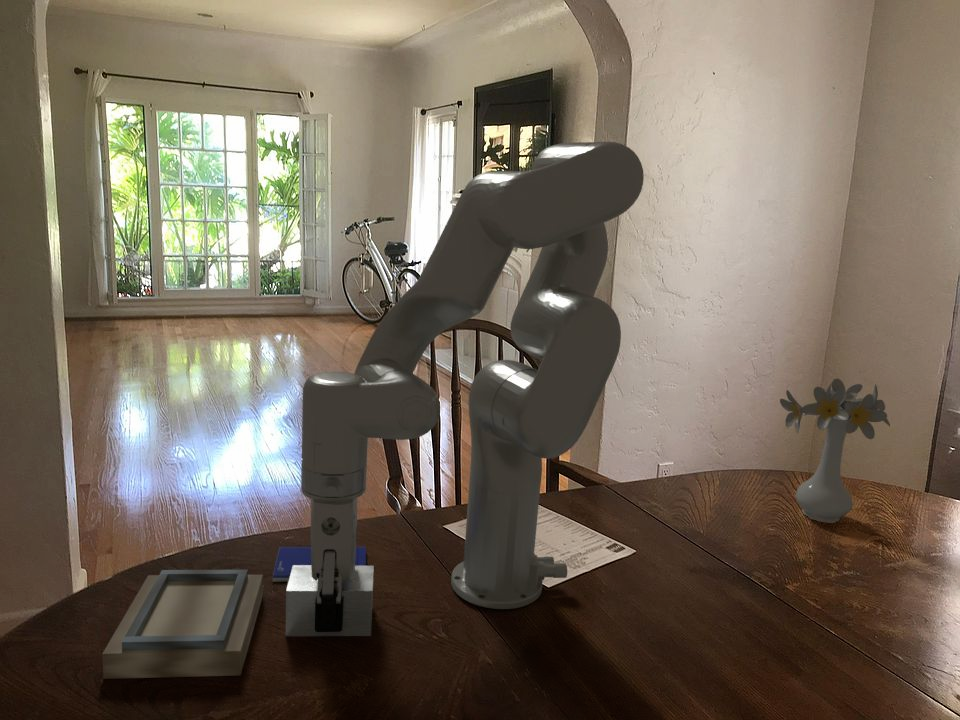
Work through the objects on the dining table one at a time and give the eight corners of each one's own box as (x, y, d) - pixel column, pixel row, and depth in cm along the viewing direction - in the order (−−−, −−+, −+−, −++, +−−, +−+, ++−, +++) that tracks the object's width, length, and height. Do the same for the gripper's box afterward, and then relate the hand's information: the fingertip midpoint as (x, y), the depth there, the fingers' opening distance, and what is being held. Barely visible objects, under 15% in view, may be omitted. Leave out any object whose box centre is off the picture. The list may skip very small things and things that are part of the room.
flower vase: (752, 504, 136) (773, 373, 130) (837, 501, 140) (862, 374, 135) (796, 536, 124) (822, 393, 118) (889, 532, 128) (918, 393, 122)
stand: (262, 595, 95) (262, 567, 95) (240, 675, 80) (240, 642, 79) (149, 596, 93) (147, 568, 92) (103, 678, 78) (101, 645, 77)
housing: (372, 608, 94) (374, 559, 93) (370, 635, 89) (372, 584, 87) (292, 608, 93) (292, 559, 92) (285, 636, 87) (286, 584, 86)
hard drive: (272, 574, 99) (366, 573, 101) (279, 545, 107) (366, 545, 109) (272, 585, 99) (365, 583, 101) (279, 555, 107) (365, 554, 109)
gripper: (364, 509, 79) (359, 657, 83) (367, 452, 96) (362, 577, 100) (293, 508, 78) (291, 658, 82) (308, 451, 94) (306, 578, 98)
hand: (330, 613), depth 91 cm, fingers closed on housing, 6 cm apart
